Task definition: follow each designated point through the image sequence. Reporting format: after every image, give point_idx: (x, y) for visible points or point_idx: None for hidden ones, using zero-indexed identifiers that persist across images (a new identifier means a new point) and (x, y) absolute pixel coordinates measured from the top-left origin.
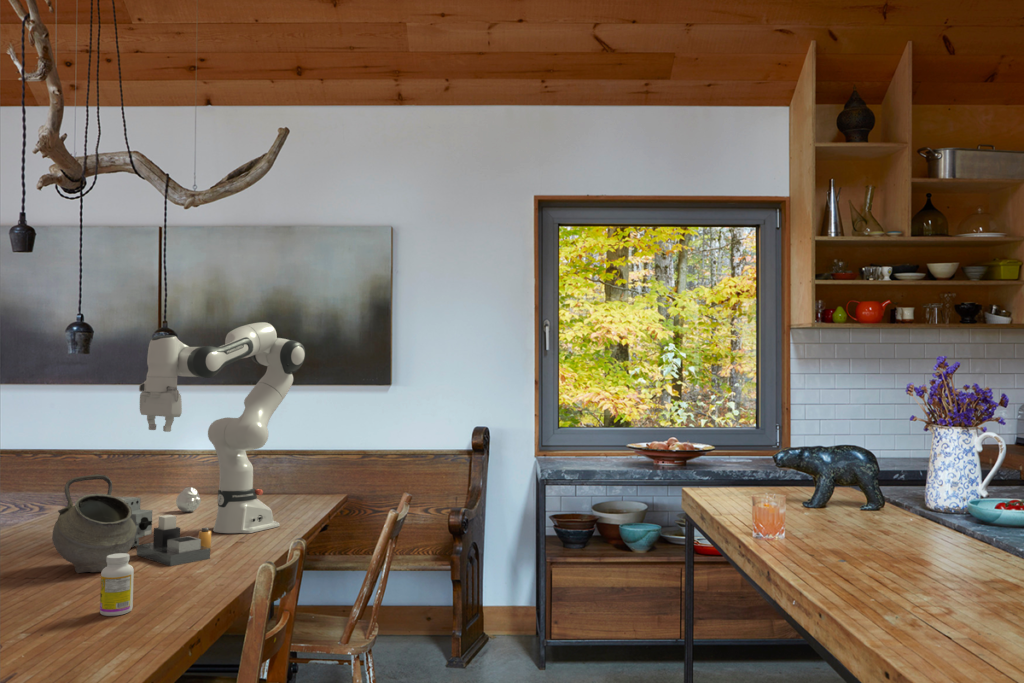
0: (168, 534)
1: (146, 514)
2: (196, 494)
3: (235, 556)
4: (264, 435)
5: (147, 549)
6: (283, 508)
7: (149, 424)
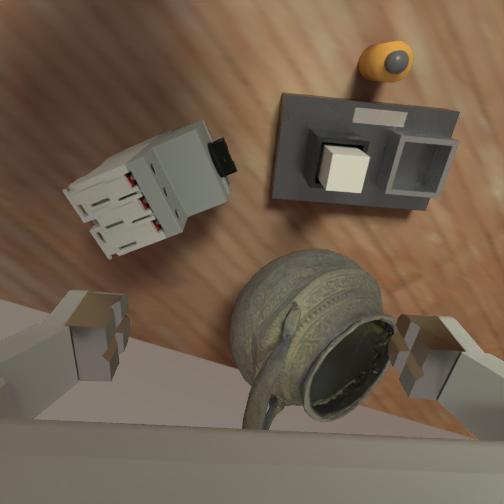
0: None
1: (208, 155)
2: None
3: (492, 50)
4: None
5: (322, 201)
6: None
7: (74, 379)
